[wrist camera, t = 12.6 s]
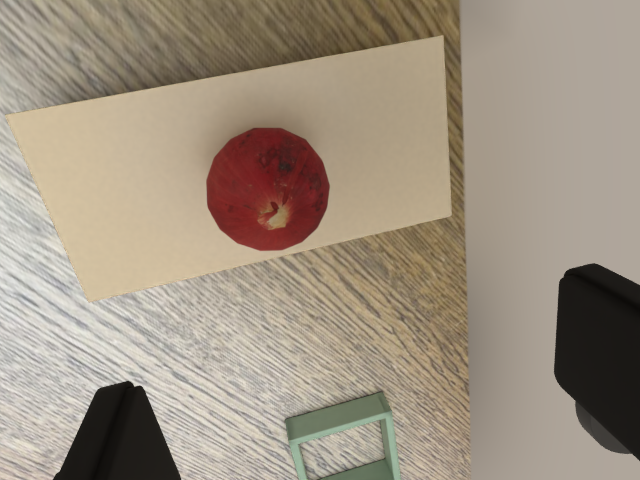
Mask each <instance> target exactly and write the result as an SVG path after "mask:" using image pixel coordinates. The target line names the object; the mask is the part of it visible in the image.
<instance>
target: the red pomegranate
mask: <svg viewBox="0 0 640 480" xmlns="http://www.w3.org/2000/svg"><path fill="white" fill-rule="evenodd" d="M206 188H207V206H208V209H209V211H210V213H211V215H212V217H213V218H214V220H215V222H216V224H217V226H218V227H219V229H220V230H221V231H222V232H224V233H225V234H226V235H227V236H229V237H230V238H231V239H232V240H234V241H235V242H236V243H237V244H241V245H244V246H247V247H250V248H253V249H256V250H259V251H279V250H284V249H287V248H289V247H292V246H294V245H297V244H299V243H302V242H303V241H304V240H305V239H306V238H307V237H308V236H309V235H311V234H312V233H313V232H314V231H315V230H316V229H317V228H318V226H319V224H320V222H321V220H322V218H323V216H324V214H325V212H326V209H327V205H328V198H329V190H330V184H329V181H328V177H327V174H326V170H325V167H324V163H323V161H322V159H321V158H320V157H319V155H318V154H317V153H316V152H315V150H314V149H313V148H312V147H311V145H310V144H309V143H308V142H307V140H306V139H304V138H302V137H300V136H297V135H295V134H293V133H291V132H289V131H287V130H285V129H283V128H252V129H250V130H248V131H246V132H244V133H242V134H240V135H238V136H236V137H234V138H232V139H230V140H229V141H228V142H227V143H226V145H225V146H224V147H223V148H222V149H221V150H220V151H219V152H218V154H217V155H216V156H215V157H214V159H213V162H212V165H211V168H210V171H209V173H208V176H207V179H206Z"/></svg>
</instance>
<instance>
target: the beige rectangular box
mask: <svg viewBox="0 0 640 480" xmlns="http://www.w3.org/2000/svg"><path fill="white" fill-rule="evenodd" d="M5 117H6V119H7V121H8V123H9V126H10V128H11V130H12V132H13V135H14V137H15V139H16V141H17V144H18V146H19V148H20V150H21V153H22V155H23V157H24V159H25V161H26V164H27V166H28V168H29V170H30V173H31V175H32V177H33V179H34V182H35V184H36V186H37V188H38V190H39V193H40V195H41V197H42V199H43V202H44V204H45V206H46V208H47V211H48V213H49V215H50V217H51V220H52V222H53V224H54V226H55V228H56V231H57V233H58V235H59V237H60V240H61V242H62V244H63V246H64V249H65V251H66V253H67V255H68V258H69V260H70V262H71V264H72V266H73V269H74V271H75V273H76V275H77V278H78V280H79V282H80V284H81V287H82V289H83V291H84V293H85V296H86V298H87V300H88V302H93V301H97V300H102V299H106V298H110V297H114V296H118V295H123V294H127V293H131V292H135V291H139V290H144V289H148V288H152V287H156V286H160V285H165V284H169V283H173V282H177V281H181V280H186V279H190V278H194V277H198V276H202V275H206V274H211V273H215V272H219V271H223V270H227V269H232V268H236V267H240V266H244V265H248V264H253V263H257V262H261V261H265V260H269V259H274V258H278V257H282V256H286V255H290V254H295V253H299V252H303V251H307V250H311V249H316V248H320V247H324V246H328V245H332V244H336V243H341V242H345V241H349V240H353V239H357V238H362V237H366V236H370V235H374V234H378V233H383V232H387V231H391V230H395V229H399V228H404V227H408V226H412V225H416V224H420V223H425V222H429V221H433V220H437V219H441V218H445V217H450V216H452V209H451V188H450V167H449V145H448V124H447V103H446V81H445V60H444V38H443V35H442V36H436V37H431V38H425V39H420V40H414V41H409V42H403V43H398V44H392V45H387V46H381V47H376V48H370V49H364V50H359V51H353V52H348V53H342V54H337V55H331V56H326V57H320V58H315V59H309V60H304V61H298V62H293V63H287V64H282V65H276V66H271V67H265V68H260V69H254V70H249V71H243V72H238V73H232V74H227V75H221V76H216V77H210V78H205V79H199V80H194V81H188V82H182V83H177V84H171V85H166V86H160V87H155V88H149V89H144V90H138V91H133V92H127V93H122V94H116V95H111V96H105V97H100V98H94V99H89V100H83V101H78V102H72V103H67V104H61V105H56V106H50V107H45V108H39V109H34V110H28V111H23V112H17V113H11V114H6V115H5ZM252 128H283V129H285V130H287V131H289V132H291V133H293V134H295V135H297V136H300V137H302V138H304V139H306V140H307V142H308V143H309V144H310V145H311V147H312V148H313V149H314V150H315V152H316V153H317V154H318V155H319V157H320V158H321V159H322V161H323V163H324V167H325V170H326V174H327V177H328V181H329V184H330V190H329V198H328V205H327V209H326V212H325V214H324V216H323V218H322V220H321V222H320V224H319V226H318V228H317V229H316V230H315V231H314V232H313V233H312V234H311V235H309V236H308V237H307V238H306V239H305V240H304V241H303V242H302V243H299V244H297V245H294V246H292V247H289V248H287V249H284V250H279V251H259V250H256V249H253V248H250V247H247V246H244V245H241V244H237V243H236V242H235V241H234V240H232V239H231V238H230V237H229V236H227V235H226V234H225V233H224V232H222V231H221V230H220V229H219V227H218V226H217V224H216V222H215V220H214V218H213V217H212V215H211V213H210V211H209V209H208V206H207V188H206V179H207V176H208V173H209V171H210V168H211V165H212V162H213V159H214V157H215V156H216V155H217V154H218V152H219V151H220V150H221V149H222V148H223V147H224V146H225V145H226V143H227V142H228V141H229V140H230V139H232V138H234V137H236V136H238V135H240V134H242V133H244V132H246V131H248V130H250V129H252Z"/></svg>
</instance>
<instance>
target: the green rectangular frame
mask: <svg viewBox="0 0 640 480" xmlns="http://www.w3.org/2000/svg"><path fill="white" fill-rule="evenodd" d="M378 420H380V425H381V432H382V439H383V445H384V452H385V459H384V460H380V461H377V462H374V463H371V464H367V465H364V466H361V467H358V468H354V469H351V470H348V471H345V472H341V473H338V474H335V475H332V476H329V477H325V478H322V479H319V480H401V476H400V469H399V461H398V453H397V446H396V438H395V431H394V423H393V416H392V410H391V408H390V406H389V404H388V402H387V400H386V398H385V396H384V394H383V392H380V393H377V394H373V395H370V396H366V397H363V398H359V399H356V400H352V401H349V402H345V403H342V404H338V405H335V406H331V407H328V408H324V409H321V410H317V411H314V412H310V413H307V414H304V415H300V416H297V417H293V418H289V419H286V420H285V423H286V429H287V435H288V441H289V445H290V448H291V452H292V456H293V460H294V463H295V467H296V471H297V474H298V478H299V480H308V476H307V472H306V468H305V464H304V460H303V457H302V453H301V449H300V445H299V444H300V443H304V442H307V441H310V440H314V439H317V438H321V437H324V436H327V435H331V434H334V433H337V432H341V431H344V430H348V429H351V428H354V427H358V426H361V425H365V424H368V423H371V422H375V421H378Z"/></svg>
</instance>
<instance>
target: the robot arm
mask: <svg viewBox="0 0 640 480" xmlns="http://www.w3.org/2000/svg"><path fill="white" fill-rule="evenodd" d="M554 374H555V377H556V380H557V382H558V383H559V385H560V386H561V387H562V388H563V389H564V390H565V391H566V392H567V393H568V394H569V395H570V396H571V397H572V398H573V399H574V400H575V401H576V402H577V403H579V404H580V405H581V406H582V407H583V408H584V409H585V410H586V411H587V412H588V413H589V414H590V415H591V416H592V417H593V418H595V419H596V420H597V421H598V422H599V423H600V424H601V425H602V426H603V427H604V428H605V429H606V430H607V431H608V432H609V433H611V434H612V435H613V436H614V437H615V438H616V439H617V440H618V441H619V442H620V443H621V444H622V445H623V446H624V447H625V448H627V449H628V450H629V451H630V452H631V453H632V454H633V455H634V456H635V457H636V458H637V459H638V460H639V461H640V285H638V284H636V283H634V282H633V281H631V280H629V279H627V278H625V277H623V276H621V275H619V274H617V273H615V272H613V271H610V270H609V269H606V268H604V267H602V266H600V265H598V264H595V263H594V264H588V265H584V266H580V267H576V268H572V269H569V270H567V271H566V272H565V274H564V277H563V278H562V279H561V280H560V282H559V294H558V312H557V330H556V348H555V364H554ZM53 480H181V477H180V474H179V472H178V470H177V467H176V465H175V462H174V460H173V458H172V455H171V453H170V450H169V448H168V446H167V443H166V441H165V438H164V436H163V434H162V431H161V429H160V426H159V424H158V422H157V419H156V417H155V414H154V412H153V410H152V407H151V405H150V402H149V400H148V398H147V395H146V393H145V390H144V389H143V387H142V386H136V387H134V385H133V384H132V383H131V382H130V381H126V382H122V383H118V384H114V385H110V386H106V387H102V388H100V389H98V390H97V392H96V393H95V395H94V397H93V400H92V402H91V404H90V406H89V408H88V411H87V413H86V415H85V417H84V419H83V421H82V424H81V426H80V428H79V430H78V432H77V435H76V437H75V439H74V441H73V443H72V446H71V448H70V450H69V452H68V454H67V457H66V459H65V461H64V463H63V465H62V468H61V470H60V472H58V473H57V474H56V475H55V477H54V479H53Z"/></svg>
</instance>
